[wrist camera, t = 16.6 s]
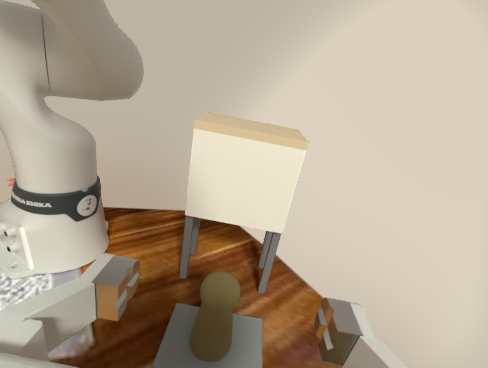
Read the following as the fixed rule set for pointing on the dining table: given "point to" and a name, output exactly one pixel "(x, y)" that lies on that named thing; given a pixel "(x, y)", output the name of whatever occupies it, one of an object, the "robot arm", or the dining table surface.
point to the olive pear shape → (215, 317)
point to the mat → (187, 364)
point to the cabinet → (242, 181)
